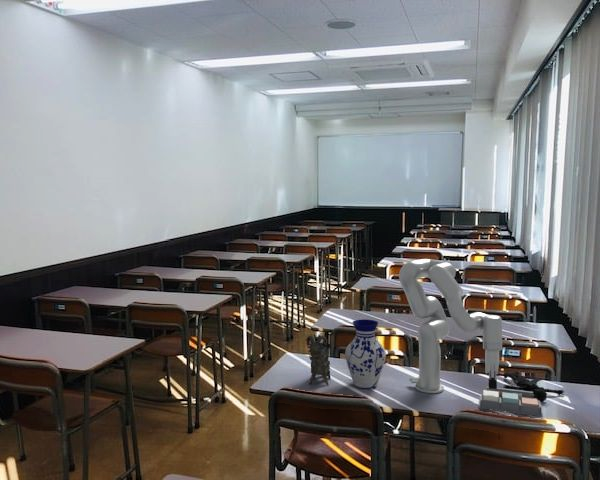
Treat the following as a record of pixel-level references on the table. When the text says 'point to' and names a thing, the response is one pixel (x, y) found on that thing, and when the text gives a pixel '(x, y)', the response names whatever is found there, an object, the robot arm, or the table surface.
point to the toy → (530, 386)
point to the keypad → (508, 406)
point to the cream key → (491, 395)
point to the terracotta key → (529, 401)
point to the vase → (365, 355)
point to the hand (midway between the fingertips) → (492, 387)
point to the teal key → (509, 398)
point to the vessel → (319, 357)
